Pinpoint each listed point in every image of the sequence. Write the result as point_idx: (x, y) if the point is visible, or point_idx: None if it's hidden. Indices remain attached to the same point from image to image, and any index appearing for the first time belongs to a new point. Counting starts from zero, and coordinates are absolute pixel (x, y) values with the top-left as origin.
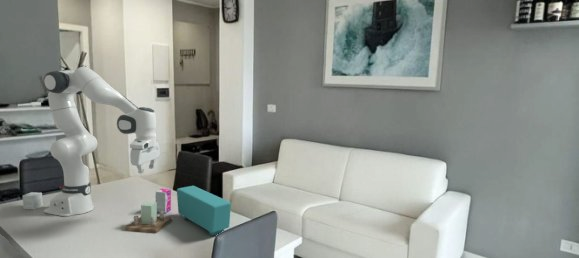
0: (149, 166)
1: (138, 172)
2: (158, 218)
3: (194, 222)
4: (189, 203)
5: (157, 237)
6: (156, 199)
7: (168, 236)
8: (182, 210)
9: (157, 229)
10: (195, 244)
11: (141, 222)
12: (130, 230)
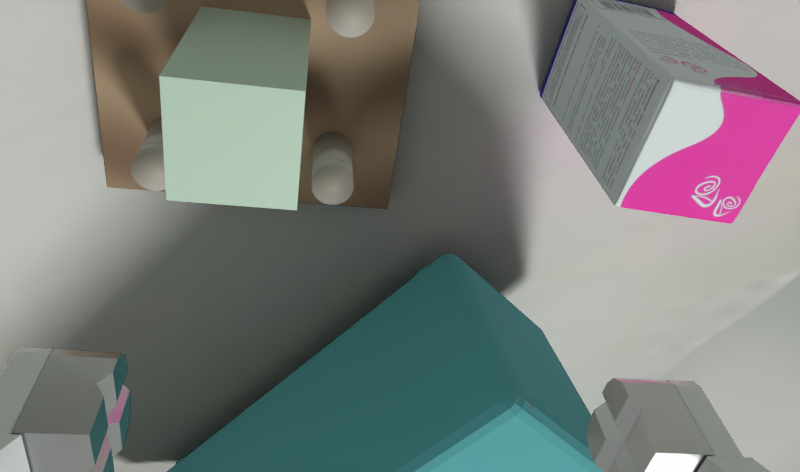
0: (635, 420)
1: (15, 356)
2: (352, 114)
3: (266, 394)
4: (299, 469)
5: (42, 207)
6: (623, 51)
7: (85, 269)
8: (388, 326)
9: (127, 185)
10: None
11: (198, 11)
12: None
